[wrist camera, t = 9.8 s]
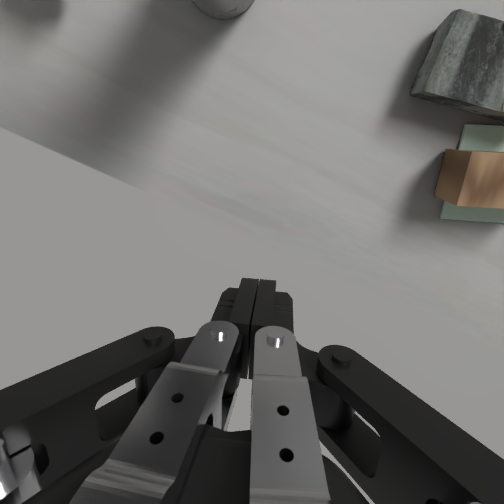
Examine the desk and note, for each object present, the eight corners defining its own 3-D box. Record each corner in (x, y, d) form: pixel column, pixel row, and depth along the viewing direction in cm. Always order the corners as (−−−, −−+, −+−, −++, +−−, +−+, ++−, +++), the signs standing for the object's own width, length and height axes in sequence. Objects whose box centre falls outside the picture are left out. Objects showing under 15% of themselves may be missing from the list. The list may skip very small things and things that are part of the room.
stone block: (441, 10, 35) (467, -11, 30) (564, 46, 35) (609, 31, 30) (406, 95, 38) (424, 89, 33) (519, 128, 38) (553, 126, 33)
